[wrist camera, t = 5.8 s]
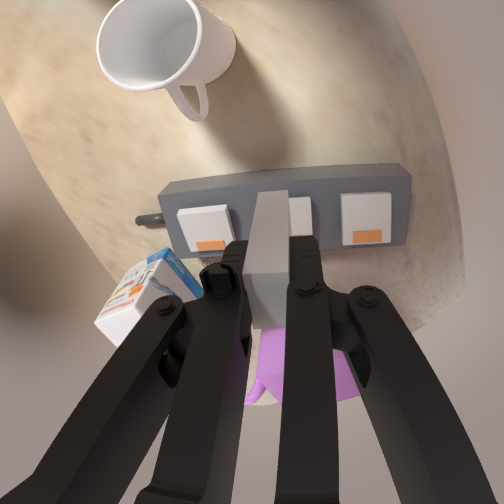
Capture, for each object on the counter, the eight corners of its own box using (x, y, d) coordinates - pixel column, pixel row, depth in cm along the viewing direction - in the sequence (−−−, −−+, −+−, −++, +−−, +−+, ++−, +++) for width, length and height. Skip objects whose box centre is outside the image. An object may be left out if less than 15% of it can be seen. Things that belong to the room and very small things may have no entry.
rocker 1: (179, 209, 30) (176, 216, 29) (226, 204, 29) (224, 211, 28) (192, 245, 33) (190, 252, 33) (236, 242, 33) (235, 249, 32)
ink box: (169, 245, 39) (133, 305, 29) (205, 291, 42) (183, 356, 33) (127, 267, 42) (90, 323, 32) (162, 307, 46) (135, 366, 36)
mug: (252, 103, 28) (231, 119, 18) (175, 122, 30) (121, 151, 20) (225, 2, 22) (190, -35, 12) (148, 27, 24) (84, 15, 14)
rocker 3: (340, 193, 28) (341, 195, 27) (388, 191, 27) (391, 193, 26) (341, 241, 30) (343, 245, 29) (387, 239, 29) (390, 242, 28)
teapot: (357, 286, 39) (373, 360, 29) (374, 331, 44) (387, 399, 33) (230, 327, 46) (215, 396, 36) (261, 363, 50) (253, 426, 40)
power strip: (130, 189, 35) (114, 202, 31) (398, 163, 29) (411, 175, 26) (148, 245, 39) (136, 262, 36) (395, 228, 34) (404, 245, 30)
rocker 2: (257, 200, 29) (256, 206, 28) (310, 196, 28) (310, 202, 27) (264, 242, 32) (263, 248, 31) (312, 239, 31) (313, 245, 30)
